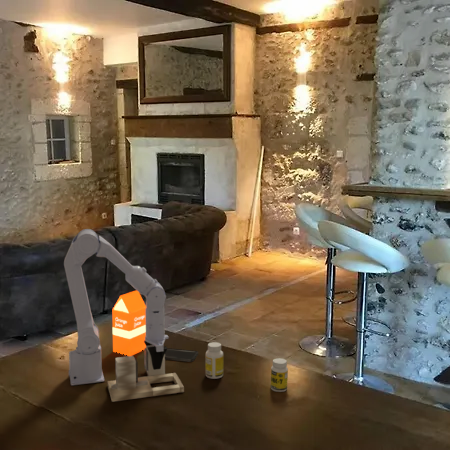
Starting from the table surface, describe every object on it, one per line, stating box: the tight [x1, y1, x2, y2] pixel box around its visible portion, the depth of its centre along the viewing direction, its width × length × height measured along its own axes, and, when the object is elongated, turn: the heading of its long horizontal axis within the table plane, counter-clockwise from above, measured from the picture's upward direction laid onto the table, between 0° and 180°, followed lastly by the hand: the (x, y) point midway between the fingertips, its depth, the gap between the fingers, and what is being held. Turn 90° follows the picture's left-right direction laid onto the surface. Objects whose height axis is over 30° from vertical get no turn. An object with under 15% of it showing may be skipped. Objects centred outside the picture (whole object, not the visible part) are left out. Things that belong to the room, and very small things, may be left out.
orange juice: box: [111, 289, 146, 357], centre depth 183 cm, size 8×9×20 cm
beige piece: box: [107, 355, 185, 402], centre depth 154 cm, size 20×10×10 cm, turn 109°
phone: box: [165, 347, 199, 363], centre depth 180 cm, size 8×1×15 cm
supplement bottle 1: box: [205, 341, 224, 380], centre depth 164 cm, size 5×5×10 cm
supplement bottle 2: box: [270, 357, 289, 393], centre depth 155 cm, size 5×5×8 cm
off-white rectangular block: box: [143, 345, 166, 376], centre depth 166 cm, size 6×4×8 cm
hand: (155, 366), depth 166 cm, fingers closed on off-white rectangular block, 4 cm apart
